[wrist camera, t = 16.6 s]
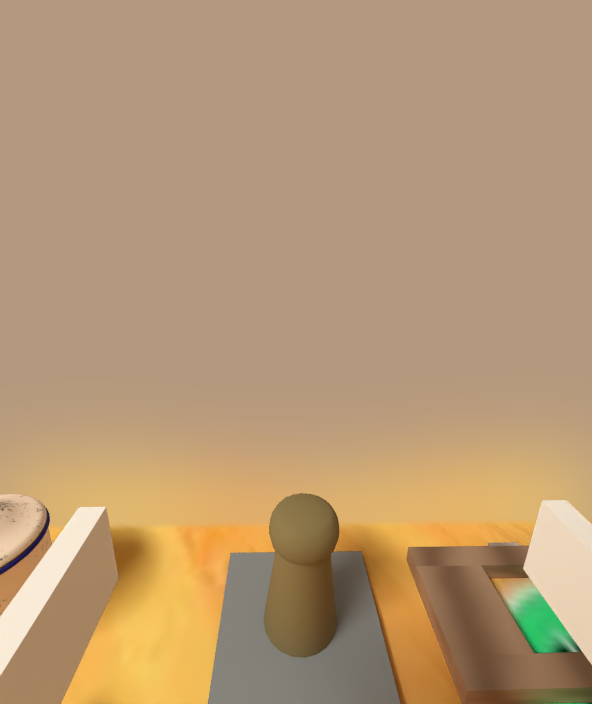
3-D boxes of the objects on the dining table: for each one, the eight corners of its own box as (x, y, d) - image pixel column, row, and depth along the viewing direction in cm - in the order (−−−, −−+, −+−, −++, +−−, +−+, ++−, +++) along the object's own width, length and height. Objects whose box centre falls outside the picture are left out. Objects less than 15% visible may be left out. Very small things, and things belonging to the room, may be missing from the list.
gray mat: (360, 556, 37) (361, 551, 37) (401, 717, 25) (402, 712, 25) (230, 557, 36) (230, 552, 36) (205, 724, 24) (205, 718, 24)
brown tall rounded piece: (274, 578, 34) (275, 476, 30) (340, 592, 33) (349, 488, 29) (253, 647, 28) (252, 531, 25) (332, 666, 27) (342, 548, 24)
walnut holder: (593, 552, 38) (597, 540, 38) (735, 697, 26) (744, 682, 26) (404, 554, 37) (406, 542, 37) (463, 706, 25) (467, 691, 25)
